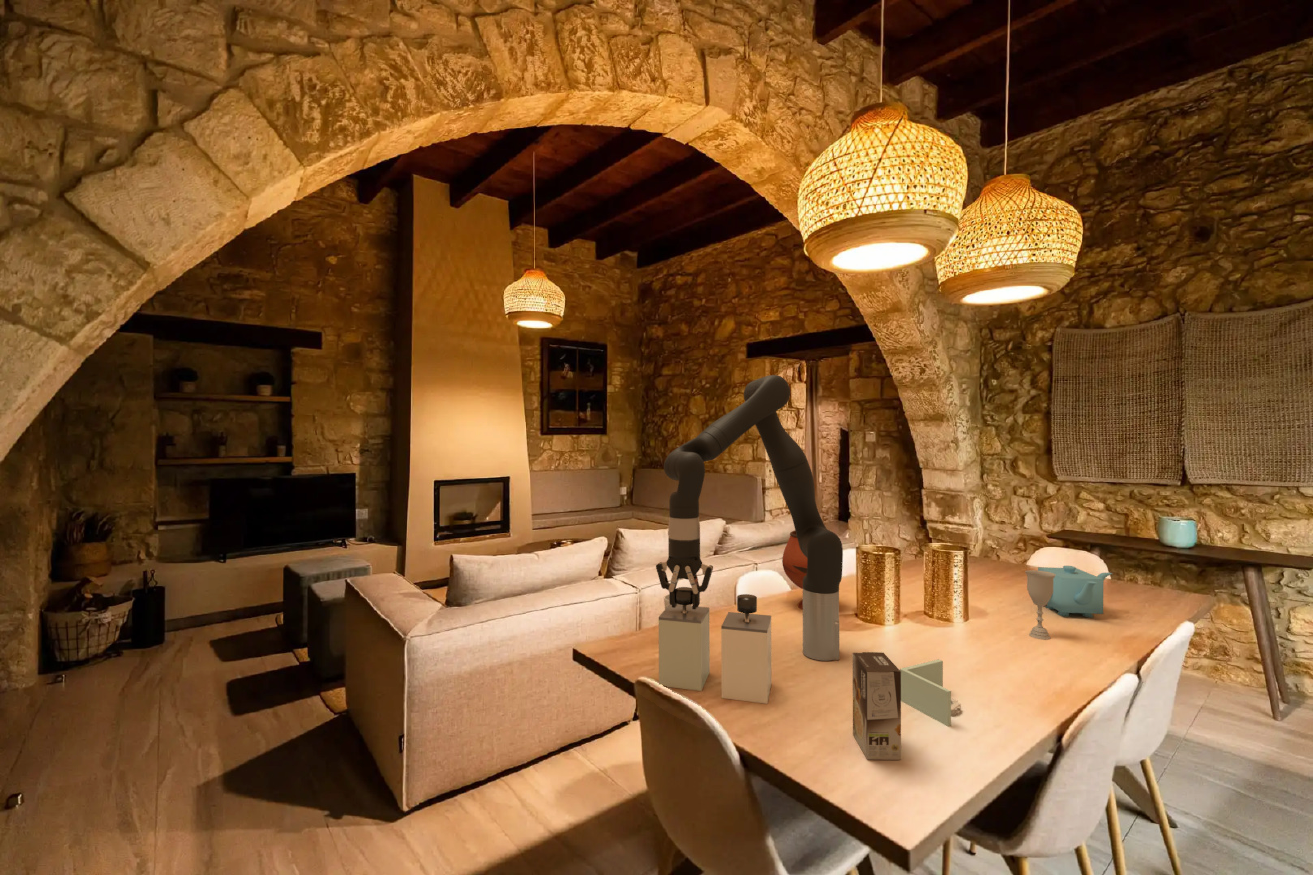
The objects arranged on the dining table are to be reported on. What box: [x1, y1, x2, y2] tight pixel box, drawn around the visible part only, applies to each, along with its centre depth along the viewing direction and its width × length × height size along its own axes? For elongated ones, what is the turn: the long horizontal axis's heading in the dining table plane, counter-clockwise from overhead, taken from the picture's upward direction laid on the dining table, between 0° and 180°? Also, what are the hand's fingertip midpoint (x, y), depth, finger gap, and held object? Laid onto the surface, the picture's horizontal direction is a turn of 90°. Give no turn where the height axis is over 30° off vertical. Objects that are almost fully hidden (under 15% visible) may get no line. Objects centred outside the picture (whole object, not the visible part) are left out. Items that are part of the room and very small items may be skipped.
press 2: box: [720, 611, 772, 705], centre depth 129 cm, size 10×10×16 cm
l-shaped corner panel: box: [899, 658, 962, 727], centre depth 121 cm, size 12×12×8 cm
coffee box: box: [851, 651, 902, 761], centre depth 106 cm, size 9×6×16 cm
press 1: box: [658, 604, 711, 692], centre depth 135 cm, size 10×10×16 cm
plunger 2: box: [736, 593, 758, 622], centre depth 129 cm, size 8×8×19 cm
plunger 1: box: [675, 586, 693, 614], centre depth 135 cm, size 8×8×19 cm
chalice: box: [1024, 569, 1056, 641], centre depth 161 cm, size 7×7×18 cm
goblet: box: [781, 530, 807, 611], centre depth 188 cm, size 19×19×25 cm
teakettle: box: [1037, 565, 1114, 618], centre depth 182 cm, size 19×19×15 cm
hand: (684, 607), depth 135 cm, fingers closed on plunger 1, 4 cm apart
